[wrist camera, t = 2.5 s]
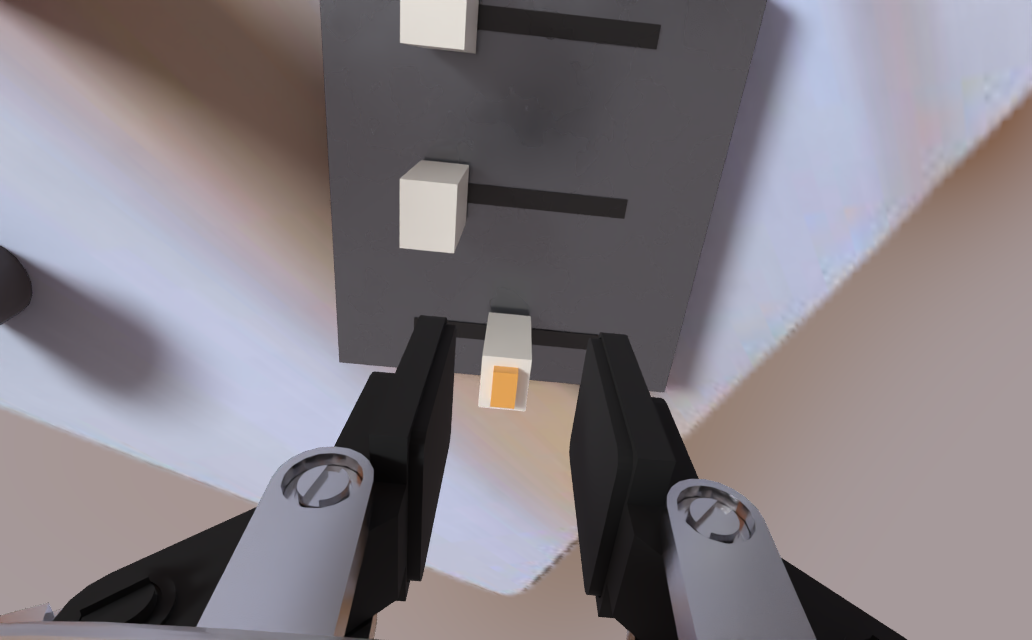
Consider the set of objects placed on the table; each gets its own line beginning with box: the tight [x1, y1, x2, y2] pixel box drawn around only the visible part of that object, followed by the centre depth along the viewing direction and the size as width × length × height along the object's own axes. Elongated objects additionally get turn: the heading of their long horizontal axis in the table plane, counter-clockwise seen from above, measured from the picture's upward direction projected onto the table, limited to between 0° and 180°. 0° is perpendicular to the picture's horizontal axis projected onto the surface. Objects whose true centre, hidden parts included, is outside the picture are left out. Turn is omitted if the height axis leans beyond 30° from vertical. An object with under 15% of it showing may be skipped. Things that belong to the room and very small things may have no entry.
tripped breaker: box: [478, 312, 532, 411], centre depth 28 cm, size 2×3×6 cm
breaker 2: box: [400, 160, 469, 253], centre depth 25 cm, size 2×3×5 cm
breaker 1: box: [400, 0, 479, 54], centre depth 21 cm, size 2×3×5 cm
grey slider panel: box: [320, 0, 767, 392], centre depth 29 cm, size 20×22×3 cm
